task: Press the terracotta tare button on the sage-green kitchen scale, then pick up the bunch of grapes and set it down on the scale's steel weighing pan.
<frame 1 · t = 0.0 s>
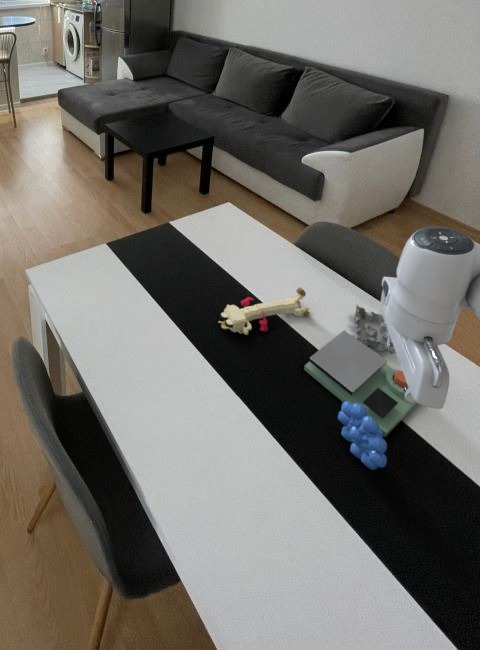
hand: (400, 373, 76), 23 cm above the table, tool pointing down, fingers open, 8 cm apart
grapes: (360, 453, 85), on the table
tare button: (402, 379, 95), point 4 cm above the table, slide at 0.1 cm
scale pan: (360, 370, 97), on the scale, point 3 cm above the table
scale: (361, 382, 98), on the table
beige blocky toy: (261, 319, 116), on the table
egg carton: (370, 334, 110), on the table
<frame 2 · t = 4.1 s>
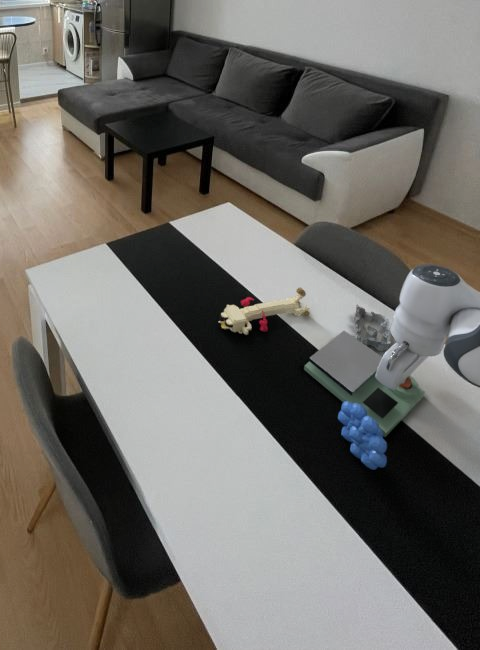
hand: (402, 377, 95), 4 cm above the table, tool pointing down, fingers closed, pressing on tare button
tare button: (402, 380, 95), point 3 cm above the table, slide at -0.3 cm, touching gripper
everything else where it was.
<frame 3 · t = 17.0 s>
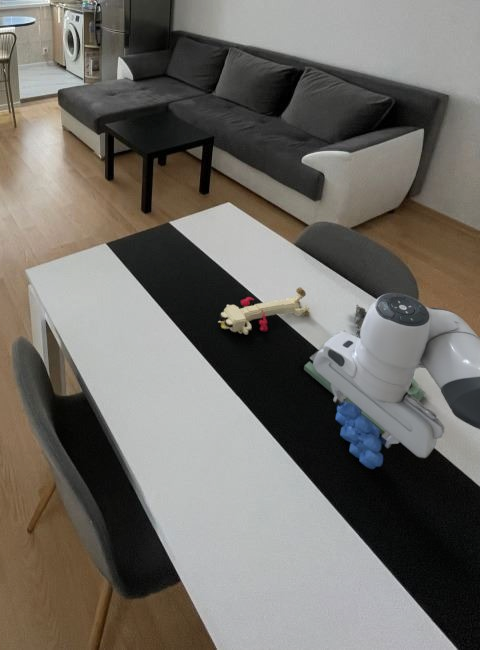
hand: (360, 421, 82), 9 cm above the table, tool pointing down, fingers closed on grapes, 7 cm apart
grapes: (360, 453, 85), on the table, touching gripper
tare button: (402, 379, 95), point 3 cm above the table, slide at 0.1 cm
everything else where it was.
when the fingers open (13 cm above the table, at t = 24.4 s): grapes stays where it is, resting on scale pan.
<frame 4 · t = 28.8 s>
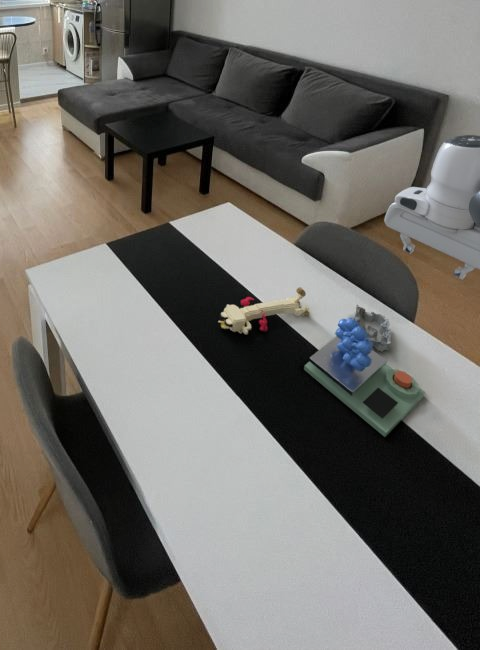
hand: (432, 263, 92), 29 cm above the table, tool pointing down, fingers open, 8 cm apart
grapes: (352, 363, 99), point 4 cm above the table, touching scale pan
everything else where it was.
at the end: tare button pushed in 0.9 cm at the most during the clip, back to where it started at the end; tare button slide at 0.1 cm; grapes inside the target area on the scale pan (1.1 cm from its centre), point 4.0 cm above the scale pan's base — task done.
